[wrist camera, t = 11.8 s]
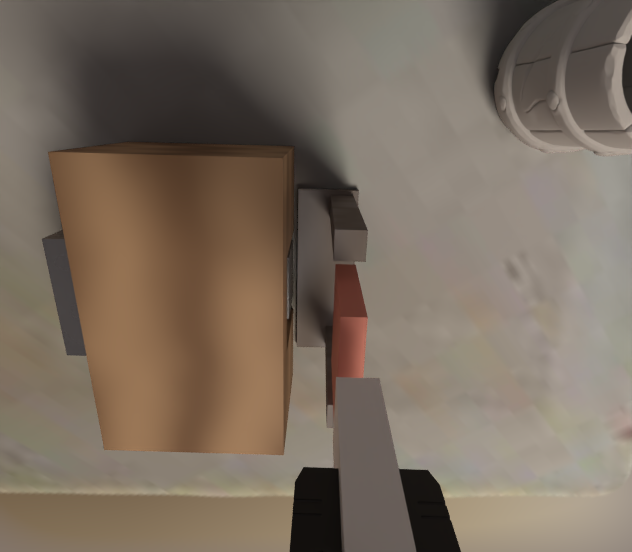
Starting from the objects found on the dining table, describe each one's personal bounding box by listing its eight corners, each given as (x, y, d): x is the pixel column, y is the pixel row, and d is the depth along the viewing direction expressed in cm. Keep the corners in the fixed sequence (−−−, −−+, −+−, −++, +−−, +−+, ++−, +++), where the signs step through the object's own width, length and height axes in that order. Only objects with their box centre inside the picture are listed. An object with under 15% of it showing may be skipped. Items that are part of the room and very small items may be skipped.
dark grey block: (115, 310, 30) (67, 355, 24) (99, 213, 27) (42, 238, 22) (293, 313, 30) (286, 359, 24) (292, 217, 27) (285, 243, 22)
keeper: (331, 360, 23) (334, 438, 18) (335, 264, 21) (340, 316, 16) (349, 361, 23) (358, 439, 18) (355, 264, 21) (367, 317, 16)
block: (156, 369, 31) (95, 463, 23) (128, 141, 26) (32, 153, 17) (347, 375, 31) (356, 470, 23) (360, 147, 25) (380, 162, 17)
